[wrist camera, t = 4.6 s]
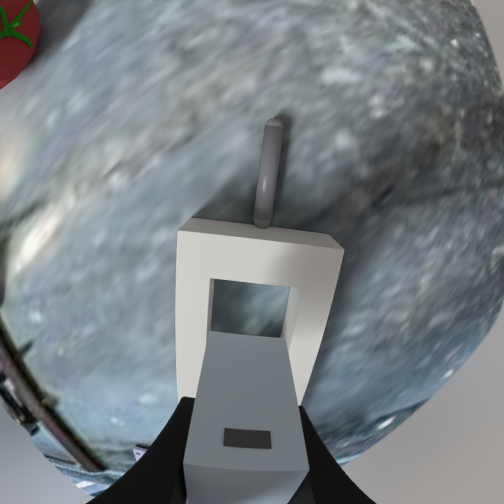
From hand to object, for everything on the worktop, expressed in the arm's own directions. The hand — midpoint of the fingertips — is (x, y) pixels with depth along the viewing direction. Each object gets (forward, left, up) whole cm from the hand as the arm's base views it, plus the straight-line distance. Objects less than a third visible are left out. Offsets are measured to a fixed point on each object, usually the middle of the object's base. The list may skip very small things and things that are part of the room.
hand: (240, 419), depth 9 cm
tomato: (+17, +19, -9) cm, 27 cm away
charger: (0, 0, -2) cm, 2 cm away
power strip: (-2, 0, -9) cm, 9 cm away
